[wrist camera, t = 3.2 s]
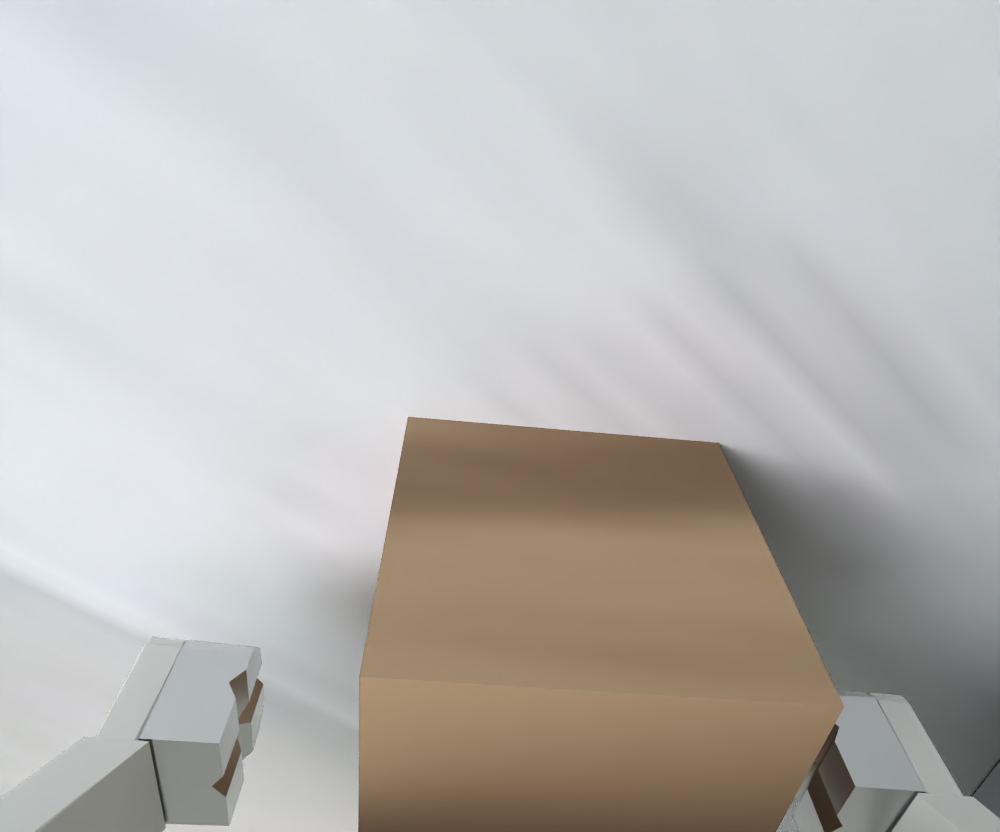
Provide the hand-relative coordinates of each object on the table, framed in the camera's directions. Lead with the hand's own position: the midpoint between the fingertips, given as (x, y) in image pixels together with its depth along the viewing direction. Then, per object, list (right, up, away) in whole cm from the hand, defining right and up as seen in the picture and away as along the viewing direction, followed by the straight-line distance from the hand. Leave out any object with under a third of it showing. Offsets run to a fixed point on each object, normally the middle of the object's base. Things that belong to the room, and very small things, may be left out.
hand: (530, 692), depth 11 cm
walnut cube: (0, +2, +2) cm, 3 cm away
